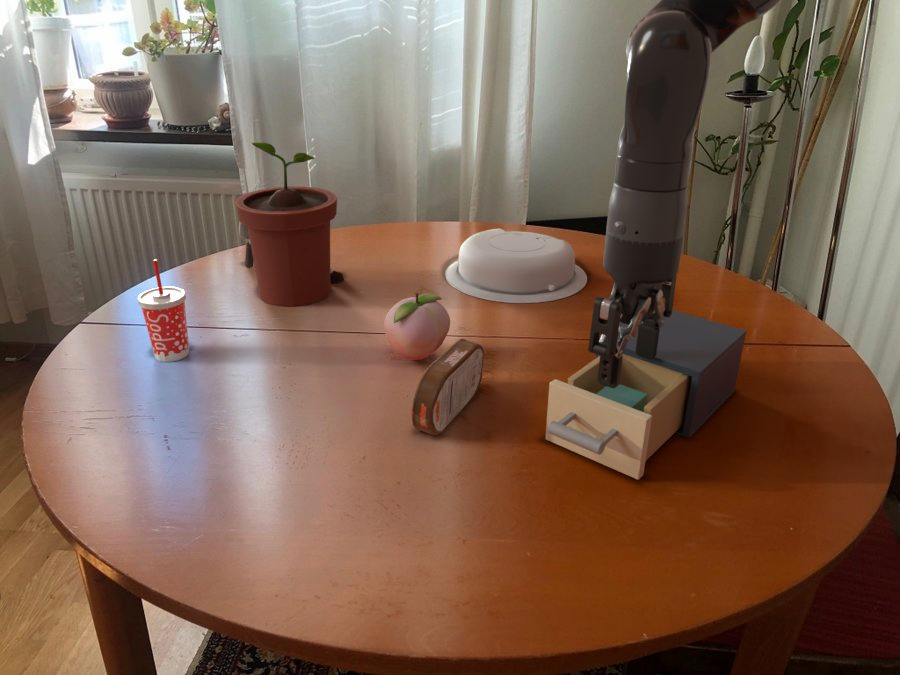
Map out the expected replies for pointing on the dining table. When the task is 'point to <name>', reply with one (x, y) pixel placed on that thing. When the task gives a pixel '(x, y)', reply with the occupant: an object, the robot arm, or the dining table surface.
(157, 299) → the beverage cup
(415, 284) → the dining table surface
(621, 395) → the block
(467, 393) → the tin
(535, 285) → the round ceiling alarm
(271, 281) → the potted plant
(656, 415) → the drawer
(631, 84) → the robot arm
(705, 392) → the cabinet
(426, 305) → the decorative fruit
